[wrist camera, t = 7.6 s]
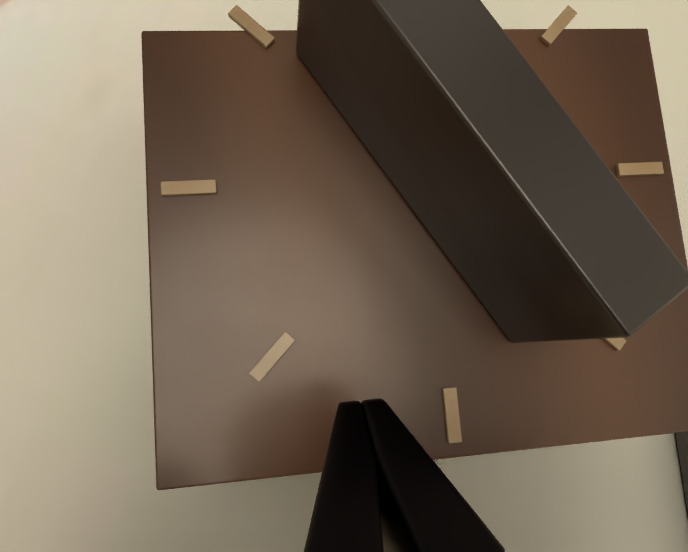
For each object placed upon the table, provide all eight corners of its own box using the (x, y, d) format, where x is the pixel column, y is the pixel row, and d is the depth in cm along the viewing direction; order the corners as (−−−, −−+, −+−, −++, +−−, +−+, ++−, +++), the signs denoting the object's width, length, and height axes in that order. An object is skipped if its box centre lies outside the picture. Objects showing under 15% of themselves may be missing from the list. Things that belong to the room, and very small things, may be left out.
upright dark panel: (559, 305, 15) (709, 279, 10) (511, 344, 15) (639, 339, 9) (346, 20, 15) (380, -148, 10) (294, 52, 15) (302, -106, 10)
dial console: (554, 42, 22) (638, -53, 17) (607, 410, 20) (720, 429, 15) (172, 45, 20) (136, -62, 15) (189, 453, 18) (154, 492, 13)
